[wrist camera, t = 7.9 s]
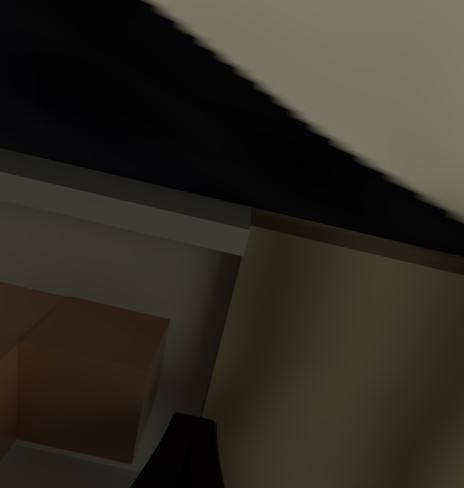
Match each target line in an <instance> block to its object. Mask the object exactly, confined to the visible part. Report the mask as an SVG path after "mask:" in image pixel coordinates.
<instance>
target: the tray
mask: <svg viewBox="0 0 464 488" xmlns="http://www.w3.org/2000/svg"><path fill="white" fill-rule="evenodd" d="M250 221H251V207H249V206H244V205H240V204H236V203H231V202H227V201H223V200H219V199H214V198H210V197H206V196H202V195H197V194H193V193H189V192H185V191H180V190H176V189H172V188H168V187H163V186H159V185H155V184H151V183H146V182H142V181H138V180H134V179H129V178H125V177H121V176H117V175H112V174H108V173H104V172H100V171H95V170H91V169H87V168H83V167H78V166H74V165H70V164H66V163H61V162H57V161H53V160H49V159H44V158H40V157H36V156H32V155H27V154H23V153H19V152H15V151H10V150H6V149H2V148H0V282H4V283H8V284H12V285H17V286H21V287H25V288H30V289H34V290H39V291H43V292H47V293H52V294H56V295H60V296H65V297H69V296H71V297H75V298H80V299H84V300H88V301H93V302H97V303H102V304H106V305H110V306H115V307H119V308H123V309H128V310H132V311H136V312H141V313H145V314H150V315H154V316H158V317H163V318H167V319H171V320H170V325H169V330H168V335H167V341H166V346H165V351H164V356H163V361H162V367H161V372H160V377H159V382H158V387H157V393H156V398H155V401H154V404H153V407H152V410H151V413H150V415H149V418H148V421H147V424H146V426H145V429H144V432H143V435H142V437H141V440H140V443H139V446H138V449H137V451H136V454H135V457H134V460H133V462H132V465H131V464H126V463H122V462H117V461H113V460H108V459H104V458H99V457H95V456H90V455H86V454H81V453H77V452H72V451H68V450H63V449H59V448H54V447H49V446H45V445H40V444H36V443H31V442H27V441H22V440H18V439H17V440H16V441H15V443H14V444H13V445H12V447H11V448H10V449H9V450H8V452H7V453H6V454H5V456H4V457H3V458H2V460H1V461H0V488H130V486H131V485H132V483H133V482H134V481H135V479H136V478H137V477H138V475H139V474H140V472H141V471H142V469H143V468H144V466H145V465H146V463H147V462H148V460H149V458H150V457H151V455H152V454H153V452H154V451H155V449H156V447H157V446H158V444H159V442H160V440H161V439H162V437H163V435H164V433H165V431H166V429H167V427H168V425H169V423H170V421H171V418H172V415H173V414H174V413H176V412H179V413H183V414H188V415H193V416H197V417H199V416H200V412H201V408H202V404H203V400H204V396H205V392H206V388H207V384H208V380H209V376H210V372H211V368H212V364H213V360H214V356H215V352H216V348H217V344H218V340H219V336H220V332H221V328H222V324H223V320H224V316H225V312H226V308H227V304H228V300H229V296H230V292H231V288H232V284H233V280H234V276H235V272H236V268H237V264H238V260H239V256H244V253H245V249H246V245H247V241H248V237H249V233H250Z"/></svg>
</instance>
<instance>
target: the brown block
mask: <svg viewBox="0 0 464 488" xmlns="http://www.w3.org/2000/svg"><path fill="white" fill-rule="evenodd" d="M66 298H68V297H65V296H60V295H56V294H52V293H47V292H43V291H39V290H34V289H30V288H25V287H21V286H17V285H12V284H8V283H4V282H0V461H1V460H2V458H3V457H4V456H5V454H6V453H7V452H8V450H9V449H10V448H11V447H12V445H13V444H14V443H15V441H16V440H17V406H18V372H19V341H20V340H21V339H22V338H24V337H25V336H26V335H27V334H28V333H29V332H30V331H31V330H32V329H33V328H35V327H36V326H37V325H38V324H39V323H40V322H41V321H42V320H43V319H44V318H46V317H47V316H48V315H49V314H50V313H51V312H52V311H53V310H54V309H55V308H57V307H58V306H59V305H60V304H61V303H62V302H63V301H64V300H65V299H66Z"/></svg>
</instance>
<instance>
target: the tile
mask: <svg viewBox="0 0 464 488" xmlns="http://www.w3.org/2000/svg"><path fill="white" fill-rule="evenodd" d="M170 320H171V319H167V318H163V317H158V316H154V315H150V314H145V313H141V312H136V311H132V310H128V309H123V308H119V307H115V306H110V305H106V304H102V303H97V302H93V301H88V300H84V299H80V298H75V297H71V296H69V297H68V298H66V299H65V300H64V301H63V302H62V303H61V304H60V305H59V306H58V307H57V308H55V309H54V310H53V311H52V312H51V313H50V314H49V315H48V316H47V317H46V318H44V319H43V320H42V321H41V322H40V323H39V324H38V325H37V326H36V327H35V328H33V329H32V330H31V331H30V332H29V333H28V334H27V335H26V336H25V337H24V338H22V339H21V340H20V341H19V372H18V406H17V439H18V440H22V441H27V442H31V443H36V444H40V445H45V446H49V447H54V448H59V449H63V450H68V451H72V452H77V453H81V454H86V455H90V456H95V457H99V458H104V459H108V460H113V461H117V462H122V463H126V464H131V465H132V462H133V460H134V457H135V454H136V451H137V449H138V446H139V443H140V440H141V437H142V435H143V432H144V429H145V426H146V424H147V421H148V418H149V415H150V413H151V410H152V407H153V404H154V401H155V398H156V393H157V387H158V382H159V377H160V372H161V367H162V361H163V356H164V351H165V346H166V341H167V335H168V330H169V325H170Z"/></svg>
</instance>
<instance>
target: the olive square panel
mask: <svg viewBox="0 0 464 488" xmlns="http://www.w3.org/2000/svg"><path fill="white" fill-rule="evenodd" d="M199 417H202V418H206V419H211V420H215V422H216V423H217V440H218V450H219V458H220V465H221V471H222V476H223V481H224V486H225V488H464V257H461V256H457V255H453V254H448V253H444V252H440V251H436V250H431V249H427V248H423V247H419V246H414V245H410V244H406V243H402V242H397V241H393V240H389V239H385V238H380V237H376V236H372V235H368V234H363V233H359V232H355V231H351V230H346V229H342V228H338V227H334V226H329V225H325V224H321V223H317V222H312V221H308V220H304V219H300V218H295V217H291V216H287V215H283V214H278V213H274V212H270V211H266V210H261V209H257V208H253V207H251V221H250V233H249V237H248V241H247V245H246V249H245V253H244V256H239V260H238V264H237V268H236V272H235V276H234V280H233V284H232V288H231V292H230V296H229V300H228V304H227V308H226V312H225V316H224V320H223V324H222V328H221V332H220V336H219V340H218V344H217V348H216V352H215V356H214V360H213V364H212V368H211V372H210V376H209V380H208V384H207V388H206V392H205V396H204V400H203V404H202V408H201V412H200V416H199Z"/></svg>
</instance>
